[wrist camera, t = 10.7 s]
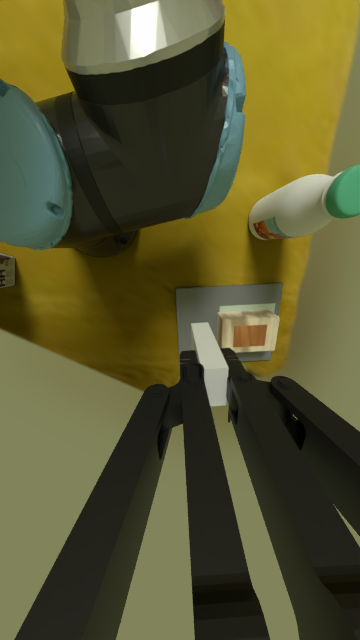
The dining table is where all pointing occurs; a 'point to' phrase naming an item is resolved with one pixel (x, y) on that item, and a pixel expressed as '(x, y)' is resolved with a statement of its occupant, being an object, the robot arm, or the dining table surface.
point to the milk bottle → (306, 205)
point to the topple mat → (223, 309)
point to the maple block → (247, 330)
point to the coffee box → (7, 270)
